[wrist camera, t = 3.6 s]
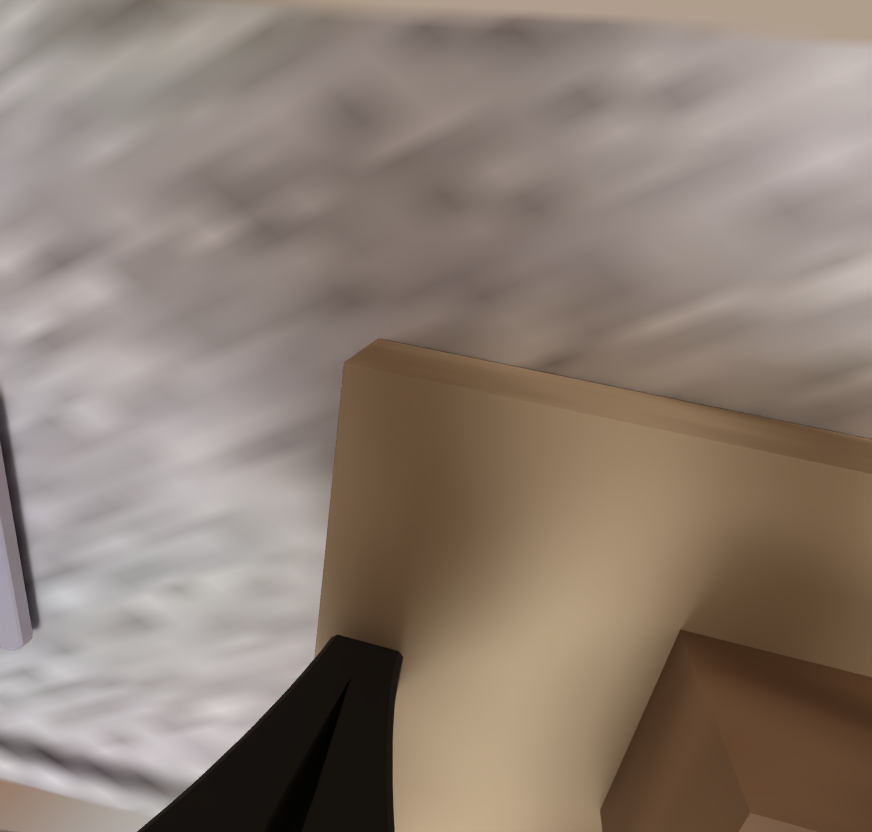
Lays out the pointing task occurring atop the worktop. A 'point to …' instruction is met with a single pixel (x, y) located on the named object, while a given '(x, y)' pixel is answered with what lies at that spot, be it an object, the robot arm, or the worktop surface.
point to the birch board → (569, 568)
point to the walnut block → (746, 746)
